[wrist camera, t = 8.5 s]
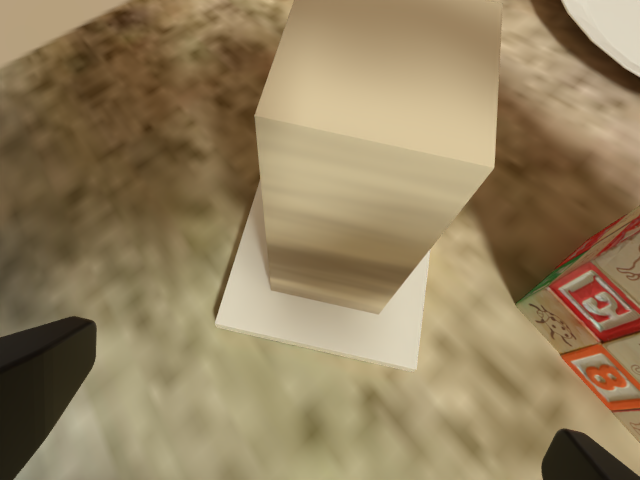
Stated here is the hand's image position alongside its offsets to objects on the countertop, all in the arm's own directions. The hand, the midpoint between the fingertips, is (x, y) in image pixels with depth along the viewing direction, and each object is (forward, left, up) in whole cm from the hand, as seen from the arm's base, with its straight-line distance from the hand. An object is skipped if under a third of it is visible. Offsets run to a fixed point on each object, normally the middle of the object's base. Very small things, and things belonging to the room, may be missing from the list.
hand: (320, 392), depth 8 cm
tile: (+7, +1, -11) cm, 13 cm away
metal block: (+7, +1, -10) cm, 13 cm away
